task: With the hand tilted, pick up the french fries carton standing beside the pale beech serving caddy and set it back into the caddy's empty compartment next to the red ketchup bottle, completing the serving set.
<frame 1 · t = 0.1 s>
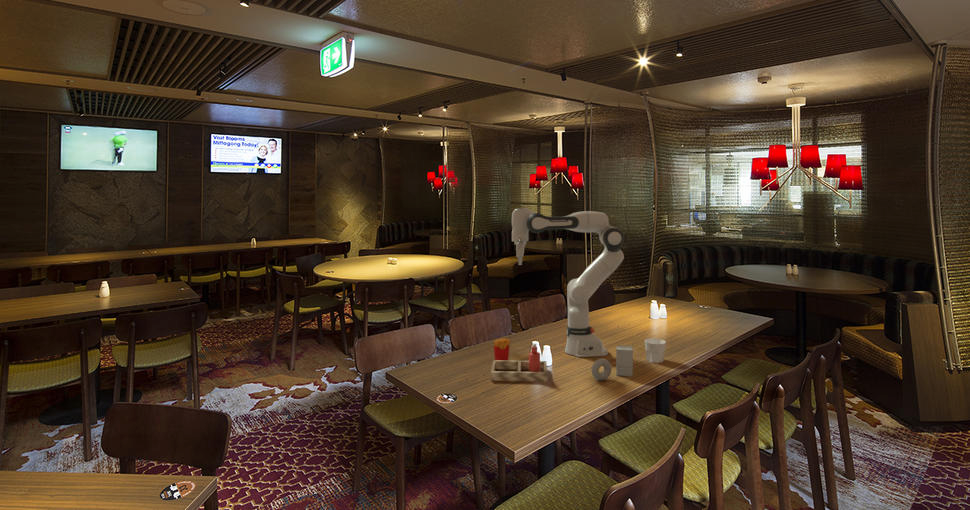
hand: (520, 263, 252), 48 cm above the table, tool pointing down, fingers open, 8 cm apart
french fries: (502, 362, 239), on the table
caddy: (519, 374, 222), on the table
ketchup bottle: (534, 376, 219), resting in caddy
supplement box: (624, 374, 221), on the table
cup: (654, 360, 239), on the table
donut: (601, 380, 213), on the table
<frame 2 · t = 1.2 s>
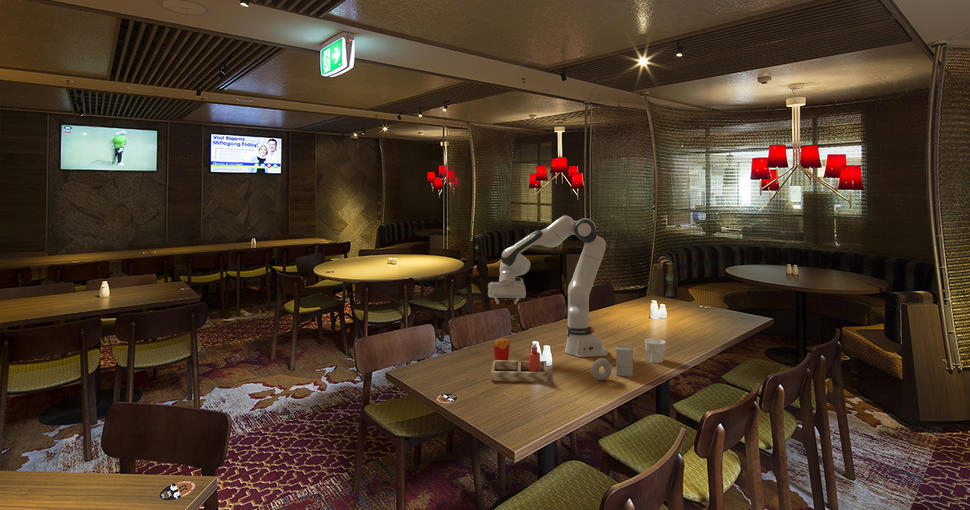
hand: (506, 303, 248), 28 cm above the table, tool tilted 45°, fingers open, 8 cm apart
nothing on the table moved.
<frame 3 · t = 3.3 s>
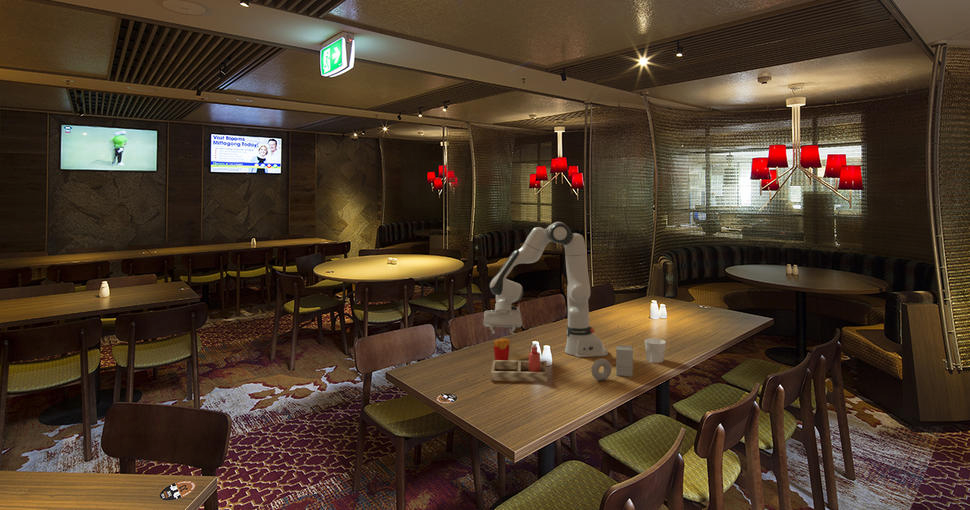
hand: (502, 333, 245), 13 cm above the table, tool tilted 45°, fingers open, 8 cm apart
nothing on the table moved.
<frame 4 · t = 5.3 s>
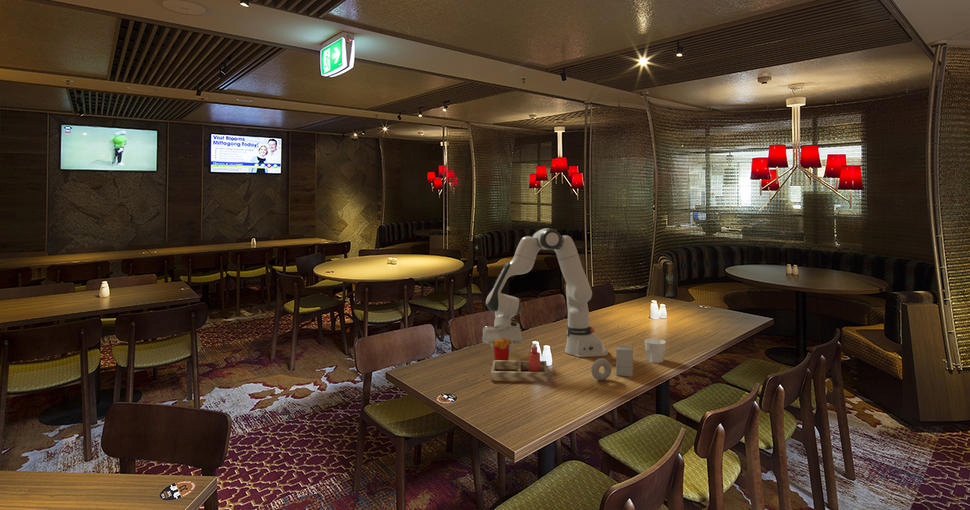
hand: (501, 350, 238), 6 cm above the table, tool tilted 45°, fingers closed on french fries, 7 cm apart
french fries: (502, 362, 239), on the table, touching gripper
everything else where it was.
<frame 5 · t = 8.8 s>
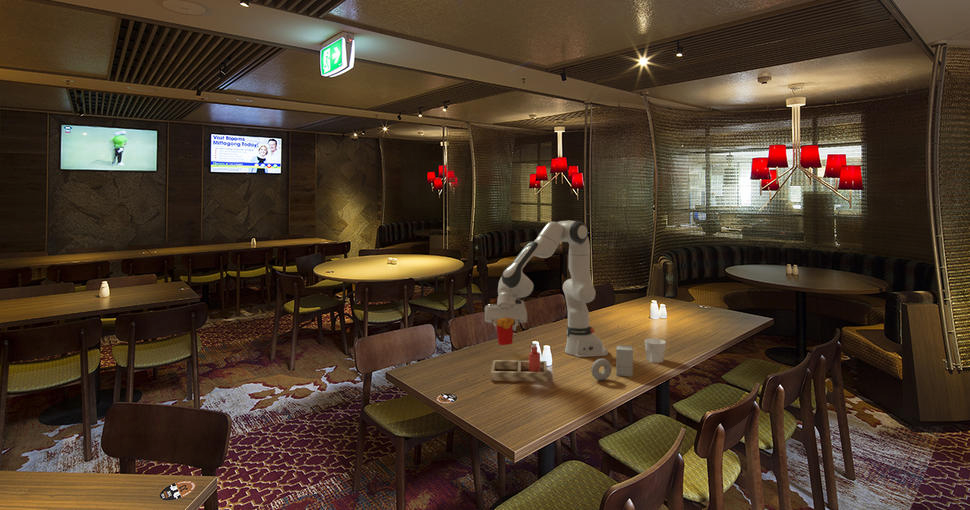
hand: (505, 329, 220), 22 cm above the table, tool tilted 45°, fingers closed on french fries, 6 cm apart
french fries: (505, 343, 221), point 15 cm above the table, touching gripper
everything else where it was.
when the fingers open (8 cm above the table, at t = 12.1 s): french fries moves 2 cm, resting in caddy.
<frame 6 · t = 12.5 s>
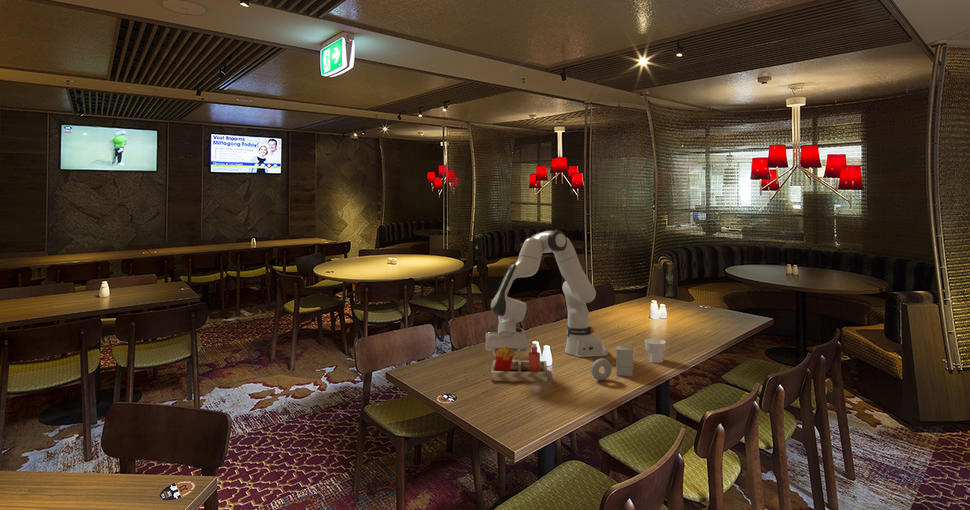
hand: (506, 358, 221), 8 cm above the table, tool tilted 45°, fingers open, 8 cm apart
french fries: (502, 373, 223), resting in caddy, touching gripper
everything else where it was.
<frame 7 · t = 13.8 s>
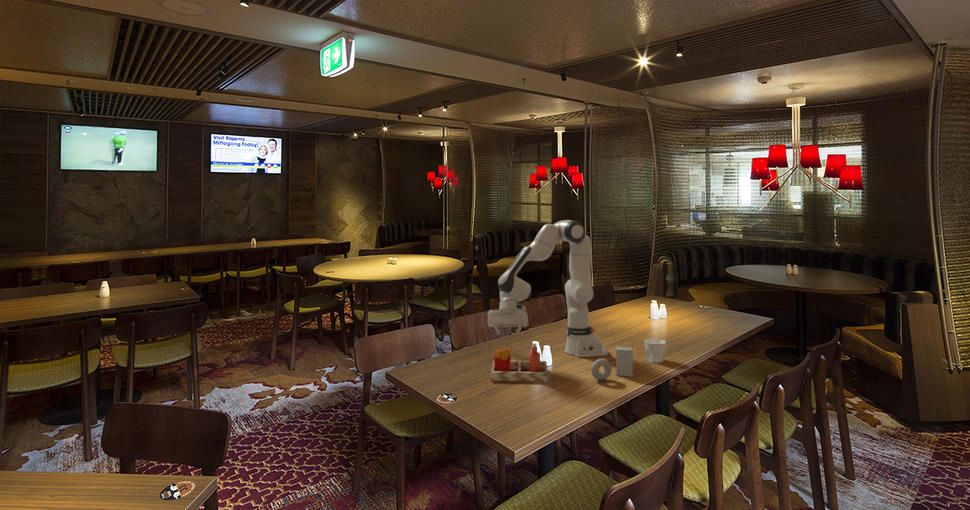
hand: (507, 333, 231), 17 cm above the table, tool tilted 45°, fingers open, 8 cm apart
french fries: (502, 374, 223), resting in caddy
everything else where it was.
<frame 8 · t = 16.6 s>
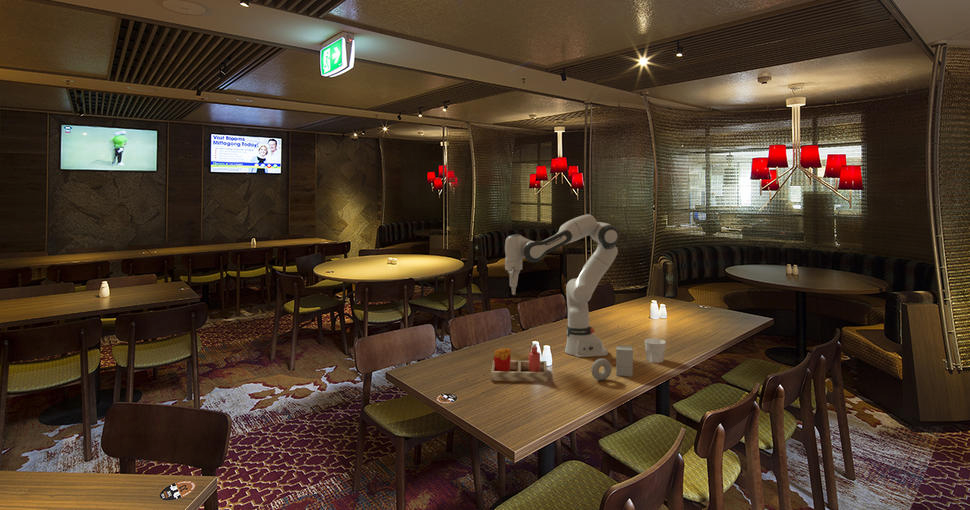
hand: (513, 292, 244), 34 cm above the table, tool pointing down, fingers open, 8 cm apart
nothing on the table moved.
at the end: french fries inside the target area on the caddy (1.8 cm from its centre), point 0.0 cm above the caddy's base; french fries tilted 0°; the gripper is holding nothing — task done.
